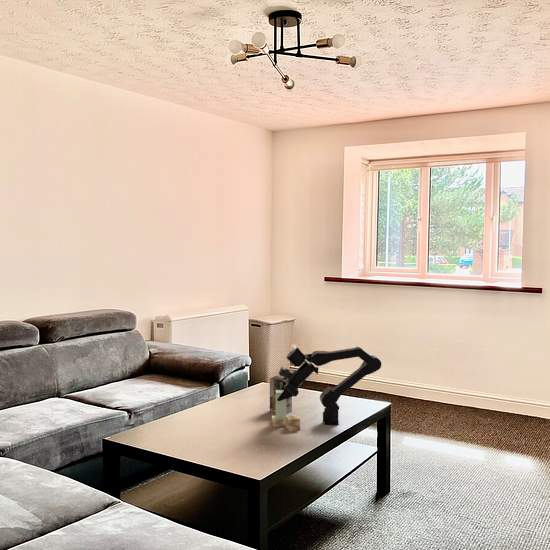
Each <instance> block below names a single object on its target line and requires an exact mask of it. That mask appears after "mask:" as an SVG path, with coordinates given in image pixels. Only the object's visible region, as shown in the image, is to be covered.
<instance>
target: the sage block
mask: <svg viewBox="0 0 550 550" xmlns="http://www.w3.org/2000/svg"><path fill="white" fill-rule="evenodd" d="M283 391H284V390H276V412H275V416H276V419H286V415H287V413H286V399H284V400H281V401H277V399H278V397H279V396H280V395H281V393H282V392H283Z"/></svg>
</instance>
